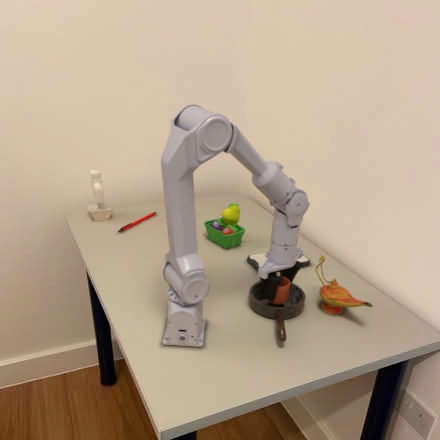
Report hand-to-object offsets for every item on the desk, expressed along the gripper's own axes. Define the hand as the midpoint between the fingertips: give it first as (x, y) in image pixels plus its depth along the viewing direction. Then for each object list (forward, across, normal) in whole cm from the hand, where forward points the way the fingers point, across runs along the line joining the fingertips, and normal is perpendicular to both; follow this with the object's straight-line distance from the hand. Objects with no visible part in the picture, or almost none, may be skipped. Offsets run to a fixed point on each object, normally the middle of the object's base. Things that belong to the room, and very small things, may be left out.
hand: (277, 294), depth 102 cm
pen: (+3, -8, -59) cm, 59 cm away
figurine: (+3, -2, -71) cm, 71 cm away
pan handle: (+1, +9, +7) cm, 11 cm away
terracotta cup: (+1, 0, 0) cm, 1 cm away
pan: (+3, 0, 0) cm, 3 cm away
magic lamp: (+3, -8, +12) cm, 14 cm away
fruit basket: (+3, -17, -31) cm, 36 cm away
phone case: (+3, -18, -12) cm, 21 cm away
